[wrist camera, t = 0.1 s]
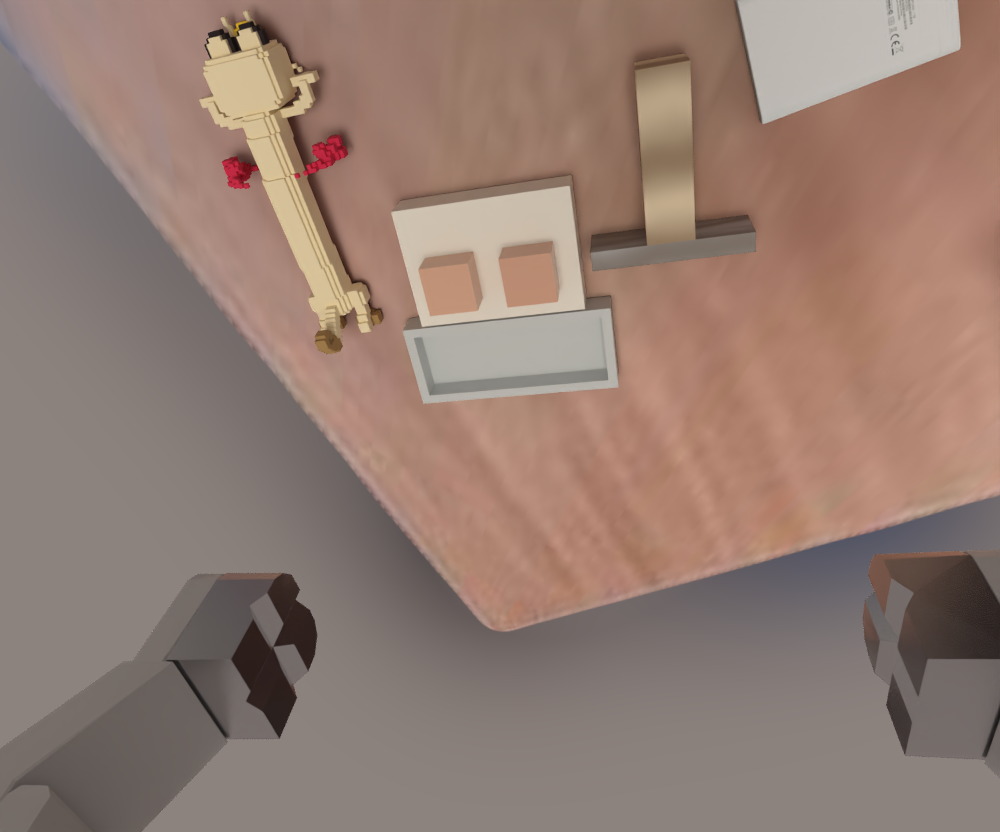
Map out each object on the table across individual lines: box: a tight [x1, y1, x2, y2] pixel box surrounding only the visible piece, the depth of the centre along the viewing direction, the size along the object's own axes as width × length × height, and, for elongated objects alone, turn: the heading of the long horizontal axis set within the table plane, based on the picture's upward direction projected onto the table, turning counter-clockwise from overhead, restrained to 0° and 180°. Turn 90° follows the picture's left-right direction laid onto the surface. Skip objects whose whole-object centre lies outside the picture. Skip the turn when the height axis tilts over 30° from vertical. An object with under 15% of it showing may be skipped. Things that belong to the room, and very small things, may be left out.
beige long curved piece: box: [199, 10, 383, 354], centre depth 53 cm, size 10×9×25 cm
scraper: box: [590, 53, 756, 271], centre depth 50 cm, size 14×12×4 cm
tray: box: [403, 296, 619, 404], centre depth 61 cm, size 8×18×2 cm, turn 100°
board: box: [391, 175, 586, 327], centre depth 56 cm, size 10×14×3 cm
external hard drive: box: [735, 0, 961, 124], centre depth 45 cm, size 2×8×12 cm
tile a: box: [418, 252, 483, 316], centre depth 55 cm, size 4×4×2 cm
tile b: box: [498, 241, 560, 307], centre depth 54 cm, size 4×4×2 cm
